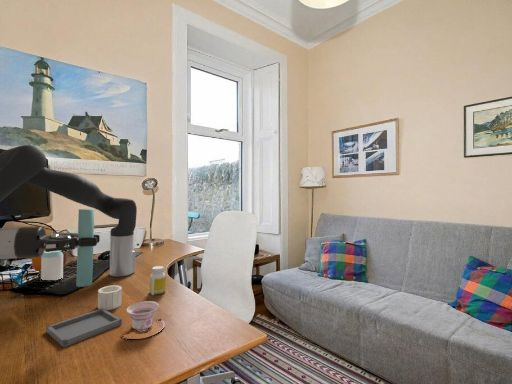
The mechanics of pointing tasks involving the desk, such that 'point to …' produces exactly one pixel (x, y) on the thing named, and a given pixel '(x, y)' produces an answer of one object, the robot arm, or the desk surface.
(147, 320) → the teacup
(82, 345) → the desk surface
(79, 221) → the dowel
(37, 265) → the carrot
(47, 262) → the can
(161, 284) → the supplement bottle
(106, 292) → the cup
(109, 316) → the tray
